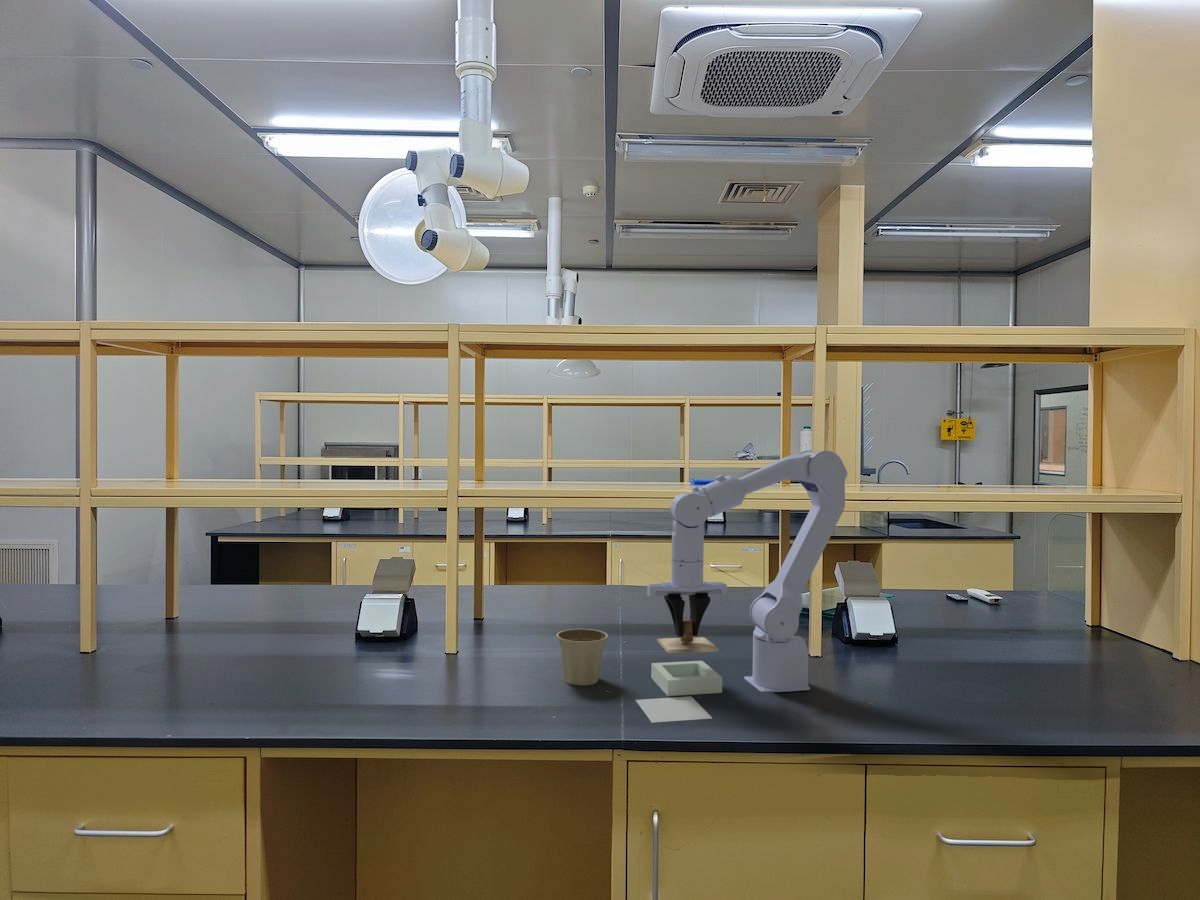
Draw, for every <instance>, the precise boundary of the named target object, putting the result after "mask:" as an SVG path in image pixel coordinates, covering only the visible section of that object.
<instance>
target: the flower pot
mask: <svg viewBox="0 0 1200 900" xmlns="http://www.w3.org/2000/svg"><path fill="white" fill-rule="evenodd" d="M556 638H557V639H558V643H559V646H560V649H561V650H560V651H561V658H562V659H561V660H562V670H563V680H564V682H565V683H567V684H569V685H574V686H575V685H576V686H590V685H594V684H596V683H598V681H599V678H600V670H601V663H602V657H603V652H604V647H605V646H606V640H608V638H609V635H608V633H606V632H605V631H602V630H598V629H591V628H571V629H565V630H561V631H558V632H557V633H556Z"/></svg>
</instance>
